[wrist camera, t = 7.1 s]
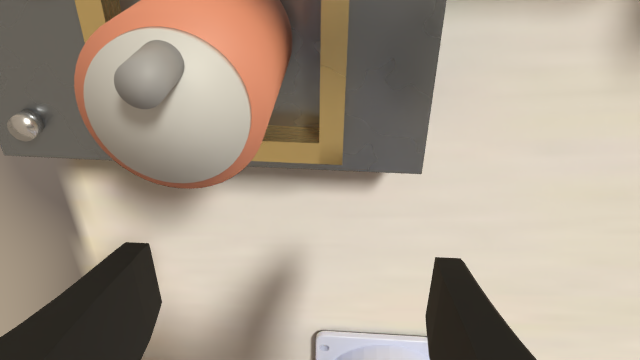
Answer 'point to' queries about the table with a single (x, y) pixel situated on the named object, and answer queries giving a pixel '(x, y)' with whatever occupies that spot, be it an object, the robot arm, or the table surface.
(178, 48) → the spout can
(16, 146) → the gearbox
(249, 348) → the table surface
